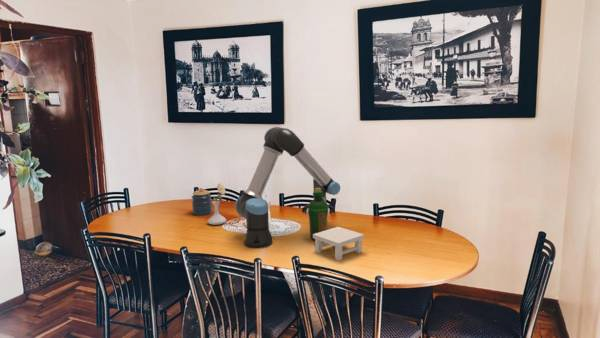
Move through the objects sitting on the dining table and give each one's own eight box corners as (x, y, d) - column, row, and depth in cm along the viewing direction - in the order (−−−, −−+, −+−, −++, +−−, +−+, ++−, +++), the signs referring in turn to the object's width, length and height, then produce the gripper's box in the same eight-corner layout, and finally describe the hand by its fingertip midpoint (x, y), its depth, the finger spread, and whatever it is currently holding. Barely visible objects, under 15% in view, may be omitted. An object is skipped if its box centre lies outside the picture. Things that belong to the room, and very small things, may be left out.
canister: (191, 212, 291) (189, 187, 288) (209, 209, 296) (208, 185, 293) (194, 216, 279) (193, 190, 276) (214, 214, 285) (212, 188, 282)
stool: (338, 261, 199) (338, 243, 198) (313, 251, 213) (312, 234, 211) (364, 251, 211) (364, 234, 209) (338, 242, 224) (338, 226, 223)
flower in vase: (216, 227, 256) (214, 186, 252) (203, 224, 263) (201, 184, 258) (232, 222, 266) (230, 183, 262) (219, 219, 273) (217, 181, 269)
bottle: (328, 241, 226) (328, 190, 221) (308, 242, 226) (307, 190, 222) (327, 235, 237) (327, 186, 232) (308, 235, 237) (307, 186, 232)
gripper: (339, 209, 246) (339, 220, 225) (299, 209, 248) (296, 220, 226) (339, 197, 245) (339, 207, 223) (299, 197, 247) (296, 207, 225)
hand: (317, 214), depth 225 cm, fingers closed on bottle, 11 cm apart
